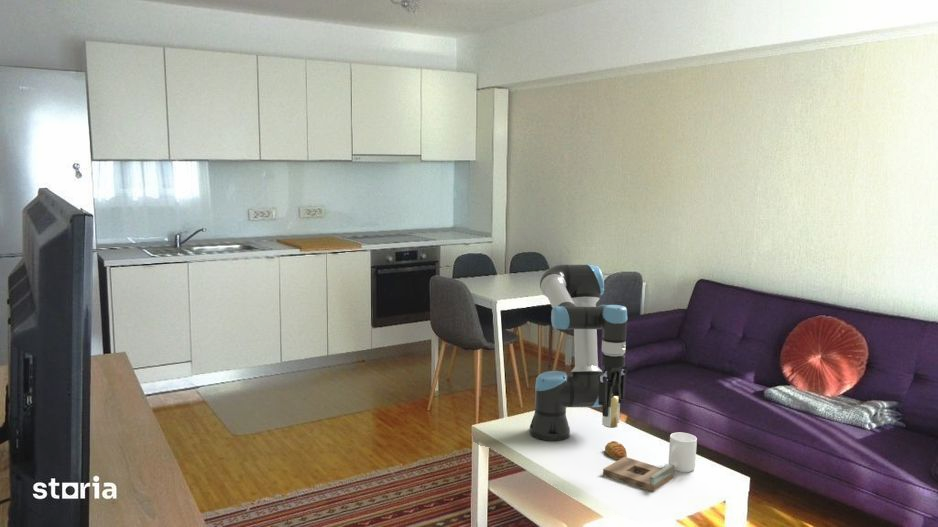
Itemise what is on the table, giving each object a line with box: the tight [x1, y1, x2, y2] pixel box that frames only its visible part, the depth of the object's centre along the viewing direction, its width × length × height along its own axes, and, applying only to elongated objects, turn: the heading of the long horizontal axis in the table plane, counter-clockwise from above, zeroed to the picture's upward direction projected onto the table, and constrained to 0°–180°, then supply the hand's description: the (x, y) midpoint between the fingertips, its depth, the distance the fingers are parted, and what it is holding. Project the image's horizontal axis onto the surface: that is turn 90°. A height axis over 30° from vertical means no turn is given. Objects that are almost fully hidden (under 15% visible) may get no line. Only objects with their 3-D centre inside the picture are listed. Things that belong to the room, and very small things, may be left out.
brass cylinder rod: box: [603, 393, 619, 429], centre depth 232 cm, size 4×4×10 cm
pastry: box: [604, 440, 628, 461], centre depth 250 cm, size 9×7×4 cm
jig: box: [602, 456, 675, 492], centre depth 232 cm, size 18×14×4 cm
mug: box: [668, 431, 698, 473], centre depth 239 cm, size 9×12×11 cm
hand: (610, 423), depth 232 cm, fingers closed on brass cylinder rod, 4 cm apart
